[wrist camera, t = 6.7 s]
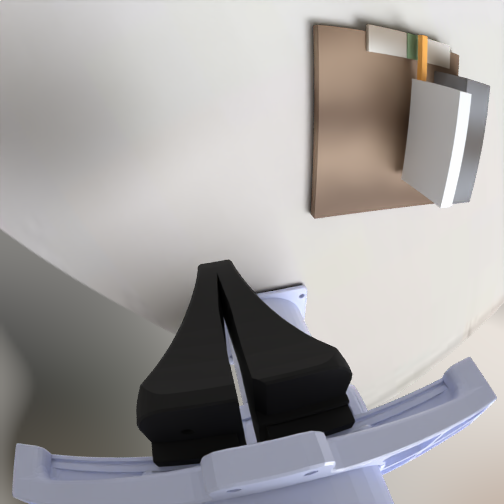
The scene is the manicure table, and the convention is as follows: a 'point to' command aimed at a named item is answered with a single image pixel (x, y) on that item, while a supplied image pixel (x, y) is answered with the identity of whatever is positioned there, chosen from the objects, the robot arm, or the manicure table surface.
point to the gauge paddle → (435, 135)
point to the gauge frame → (378, 118)
